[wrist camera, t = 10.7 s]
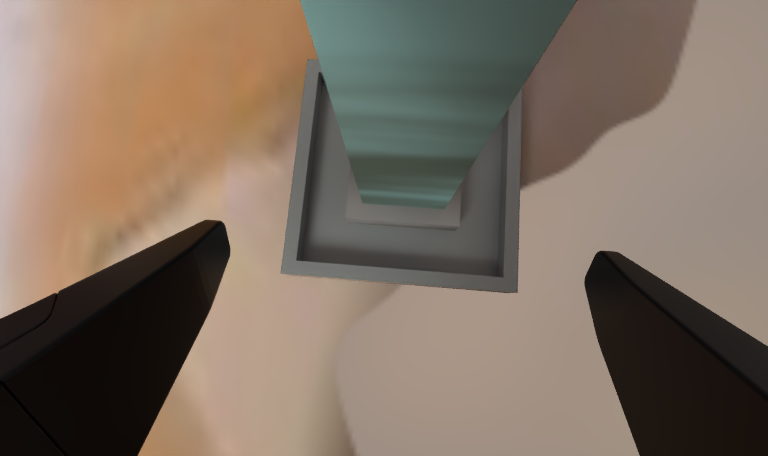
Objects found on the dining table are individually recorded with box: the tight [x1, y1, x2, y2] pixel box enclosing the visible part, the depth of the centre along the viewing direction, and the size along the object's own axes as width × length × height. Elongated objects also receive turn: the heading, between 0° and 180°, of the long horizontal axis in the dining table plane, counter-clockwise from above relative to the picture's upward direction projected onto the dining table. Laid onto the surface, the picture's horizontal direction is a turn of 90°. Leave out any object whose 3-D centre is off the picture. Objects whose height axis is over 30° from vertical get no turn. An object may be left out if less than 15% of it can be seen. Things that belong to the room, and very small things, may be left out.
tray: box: [281, 59, 522, 293], centre depth 18 cm, size 10×10×2 cm
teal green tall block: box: [300, 0, 577, 231], centre depth 12 cm, size 5×5×14 cm
